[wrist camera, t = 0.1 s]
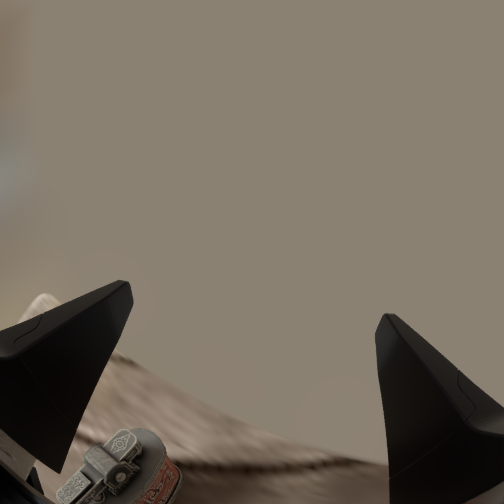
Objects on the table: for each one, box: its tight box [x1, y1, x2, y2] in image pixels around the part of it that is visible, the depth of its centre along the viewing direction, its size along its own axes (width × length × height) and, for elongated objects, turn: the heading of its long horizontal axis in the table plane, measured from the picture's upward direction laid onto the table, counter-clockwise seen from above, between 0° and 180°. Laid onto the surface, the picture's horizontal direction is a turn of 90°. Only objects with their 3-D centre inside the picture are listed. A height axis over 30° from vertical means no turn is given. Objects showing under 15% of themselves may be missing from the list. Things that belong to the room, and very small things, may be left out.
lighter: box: [56, 428, 184, 504], centre depth 10 cm, size 8×3×10 cm, turn 155°
